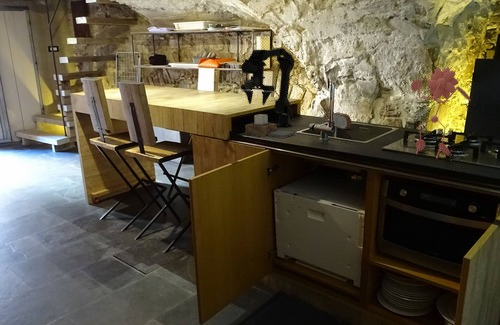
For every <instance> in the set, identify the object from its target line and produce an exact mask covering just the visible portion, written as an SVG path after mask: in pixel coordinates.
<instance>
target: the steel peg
mask: <svg viewBox="0 0 500 325" xmlns="http://www.w3.org/2000/svg"><path fill="white" fill-rule="evenodd" d="M268 118H269V116H268V114H263V113H262V114H261V113H259V114H255V115H254V123H255V125H257V126H265V125H268V123H269V121H268Z"/></svg>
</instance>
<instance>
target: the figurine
mask: <svg viewBox="0 0 500 325" xmlns="http://www.w3.org/2000/svg"><path fill="white" fill-rule="evenodd" d="M455 75H456V71H454V70H451V69H450V67H446V68H443V70H441V68H440V67H437V68H435V70H434V72H433V73H431V74H430V80H428V81H427V82H426V86H427V87H428V88H429V94H431V95H432V96H421V92H420V91H421V89H420V88H421V87H422V81H421V80H420V79H419V78H417V79H415V80H413V81H412V83H411V84H410V88H411V91H412V92H416V91H417V92H418V99H420V100H421V99H431V100H433V101H435V102H436V103H437V104H439V105H438V106H437V109H436V113H435V115H433V116H432V117H431V118H430V120H428V121H425V122H423V123H419V126H418V128H419V129H418V130H419V139H417V141H416V143H415V147H416V152H415V155H418V152H421V151H423V149H424V148H425V147H426V142H425V140H424V139H422V133H421V131H422V130H421V126H422V125H424V124H427V123H429V122H432V123H435V124H436V123H439V124H440V125H441V126H442V127H443V128H444V130H443V135H442V140H441V142H439V143H438V148H439V149H438V150H437V154H436V156H435V159H438V158H439V155H440V152H442V153H443V154H444V155H445V156H447V157H448V156H449V157H450V155H451V151H450V150H449V148H448V147H447V145H446V144H444V139H445V133H446V127H445V125H444V124H442V122H440V121H439V117H438V116H437V115H438V112H439V110H440V109H441V105H442V104H445V103H446V102H447V101H448V100H449V99H450V98H451V97H452V96H453V95H454V93H456V91H458V92H459V93H460V94H461V96H462V97H463V98H465V99H466V100H467V101H469V102H471V98H470V96H469V94H468V93H467V92H466V91H465V90H464V89H463V88H462V87H460V86H459V80H458V79H457V78H455ZM441 97H443V99H445V100H444V101H443V100H441V99H440V98H441ZM441 103H442V104H441ZM424 150H425V149H424ZM451 162H453V159H452V160H451Z"/></svg>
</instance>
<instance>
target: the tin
mask: <svg viewBox="0 0 500 325" xmlns="http://www.w3.org/2000/svg"><path fill="white" fill-rule="evenodd" d="M332 114H333V119H334V122H335V127H334V128H336V129H341V130H349V129H350V128H351V127H352V119H351V117H350V115H349V114H346V113H343V112H339V111H338V112H334V113H332Z"/></svg>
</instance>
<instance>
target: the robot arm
mask: <svg viewBox="0 0 500 325" xmlns="http://www.w3.org/2000/svg"><path fill="white" fill-rule="evenodd" d="M273 57H276V61H277V62H278V68H279V70H280V72H281V75H280V83H279V95H278V98H277V99H276V100H275V101H274V112H275V115H276V116H278V125H280V126H279V127H281V126H287V125H289V124H291V117H292V116H294V111H293V109H292V108H291V102H290V100H289V88H290V79H291V72H292V71H293V69H294V66H295V62H296V61H295V60H296V59H295V58H294V57H293V55H292V54H291V53H289V52H288V51H287V50H286V49H285V48H284V47H276V48H273V49H254V50H252V52H251V54H250V55H249V58H248V59H246V58H245V60H244V62H243V63H242V65H241V71H242V72H243V73H244V74H248V75H249V74H252V75H251V76H250V79H247V80H245V81H244V83H243V84H241V85H240V90H242V92H244V93H245V95H246V98H247V102H248V104H249V105H251V104H252V100H253V95H254V90H255V91H256V90H261V94H262V102H261V103H262V105H263V106H265V104H266V103H267V100H268V98H269V97H270V96H271V94H272V93H273V92H275V85H266V84H264V79H266V77H265V76H264V72H265V67H267V64H266V62H265V61H267V60H268V59H269V58H273Z"/></svg>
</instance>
